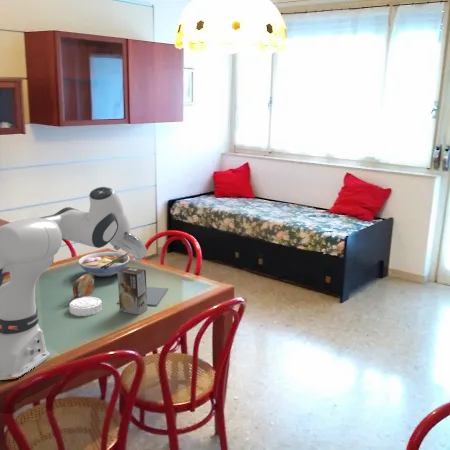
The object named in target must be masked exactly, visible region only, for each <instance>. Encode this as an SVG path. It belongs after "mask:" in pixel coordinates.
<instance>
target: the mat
mask: <svg viewBox="0 0 450 450" xmlns="http://www.w3.org/2000/svg"><path fill="white" fill-rule="evenodd" d="M146 289H147V307H148V306H149V307H158V305H160V303H161V301H162V299H163V298H164V297H165V295H166V293H167V292H168V290H169V288H168V287H157V286H156V287H152V286H146ZM116 304H117V305H119V300H118V301H117V303H116Z"/></svg>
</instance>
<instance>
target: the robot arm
mask: <svg viewBox="0 0 450 450" xmlns="http://www.w3.org/2000/svg"><path fill="white" fill-rule="evenodd" d="M88 197H89V203H90V204H89V209H88V212H87V211H83V210H79V209H77V208H73V207H71V206H70V207H66V206H65V207H64V208H62V209H59V211H57V212H55V213H54V214H53V213H52V214H51V215H46V216H41V217H35V218H26V219H19V220H16V221H11V222H8V223H6V224H2V225H0V379H5V378H10V377H9V376H11V377H18V376H21V375H22V374H24V373H26V372H28V371H29V372H30V370H31V369H32V370H34V369H35V368H36V367H37V366H39V365H40V364H41V363H43V362H44V361H46V360H47V359H48V358H50V357H51V353H50V351H48V350H47V346H46V342H45V336H44V331H43V330H42V329H41V327H40V325H39V320H40V319H39V317H40V316H39V312H38V309H37V307H36V285H37V282H38V280H39V278H40V276H41V275H42V274H43V273H45V272H46V271H47V270H48V269H49V268H50V267H51V266H52V264H53V262H54V258H55V255H57V254H58V252H59V250H60V249H61V247H62V244H63V243H62V242H63V240H65V241H70V242H74V243H78V244H81V245H85V246H89V247H92V248H98V249H100V248H103V247H105V246H107V245H108V244H110V245H111V246H112V247H113V250H116V251H119V250H122V251H124V252H126V253H127V254H128V253H129V254H128V255H130V256H132V259H133V260H134V262H139V261H140V260H142V259H143V258H145V256H146V255H147V254H148V250H147V247H146V246H145V244H144V242H143V239H141V238H140V237H138V236H137V235H135V234H133V233H132V232H131V227H132V226H131V224H130V222H129V219H128V217H127V214H126V213H125V212H124V206H123V204H122V202H121V198H120V197H119V195H118V194H117V192H116V191H115V190H114V189H113V188H112V187H107V186H101V187H96V188H94V189H92V190H91V191H90V193H89V195H88ZM8 274H9V276H10V277H9V280H8V281H6V282H5V283H3V282H4V278H5V277H7V276H8ZM34 367H35V368H34ZM33 368H34V369H33ZM32 370H31V371H32ZM29 372H28V373H29Z"/></svg>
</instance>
